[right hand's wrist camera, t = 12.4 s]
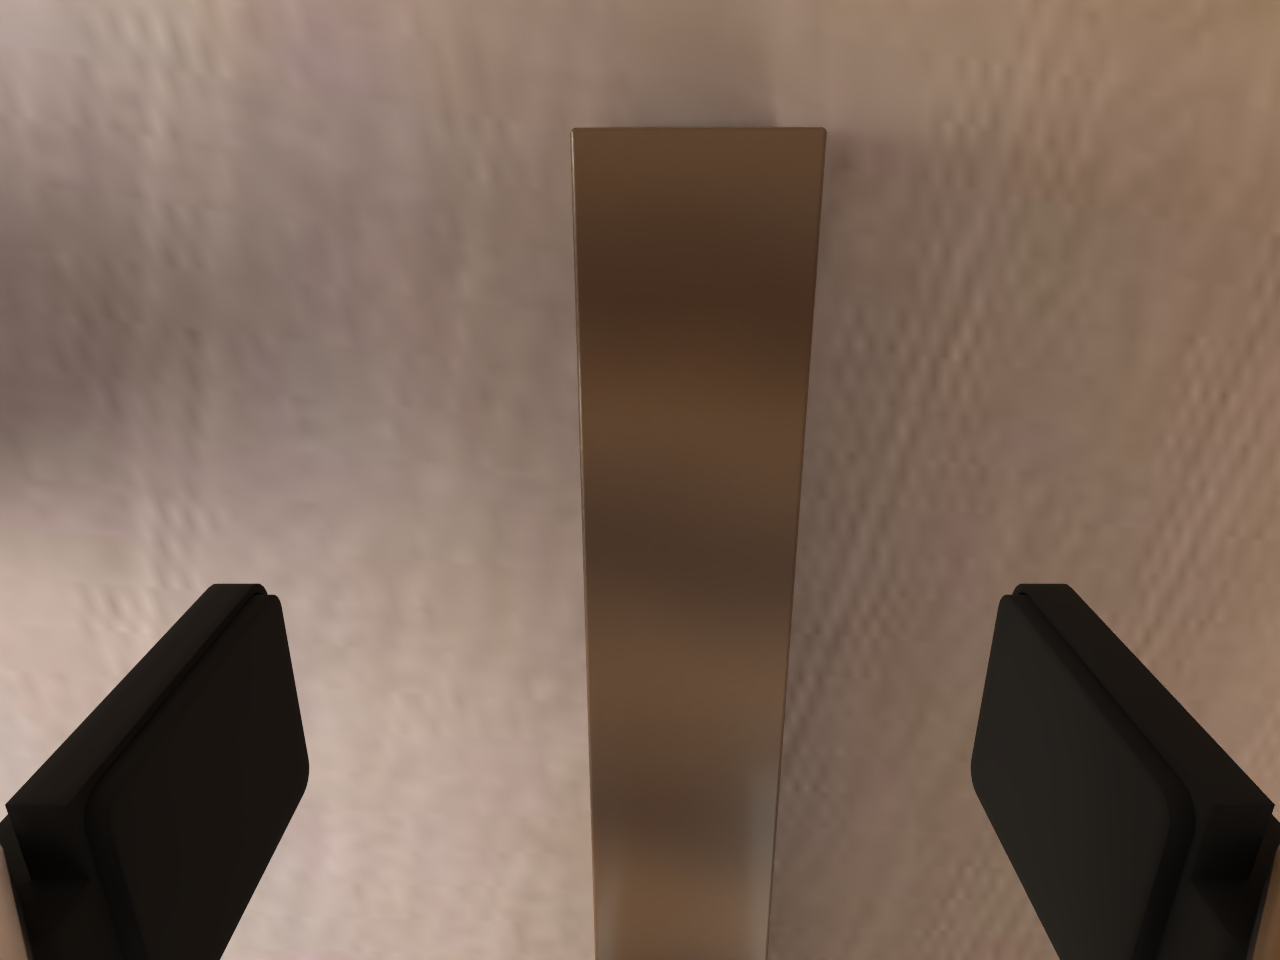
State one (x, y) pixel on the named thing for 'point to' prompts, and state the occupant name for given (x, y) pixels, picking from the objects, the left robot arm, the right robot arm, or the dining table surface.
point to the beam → (690, 515)
